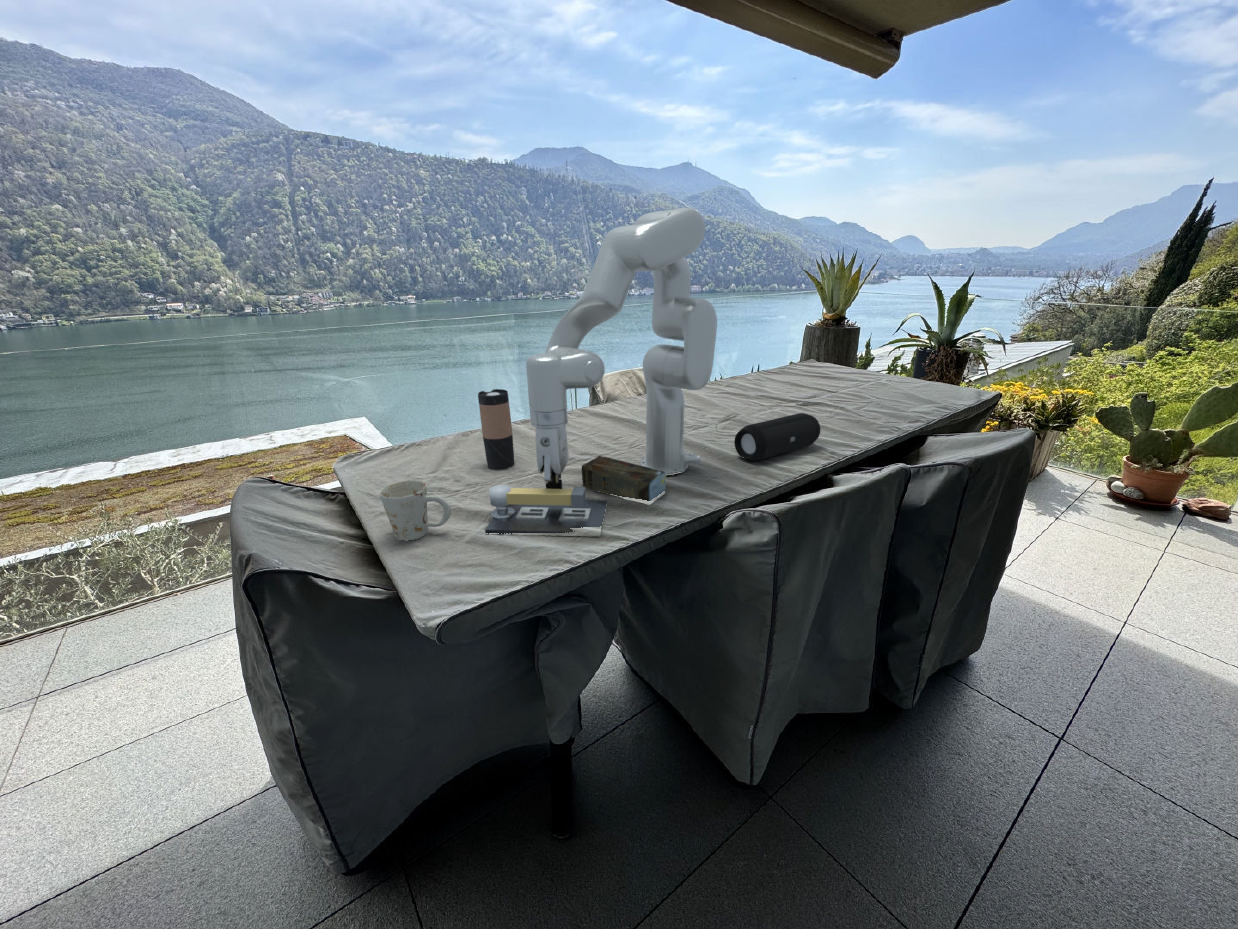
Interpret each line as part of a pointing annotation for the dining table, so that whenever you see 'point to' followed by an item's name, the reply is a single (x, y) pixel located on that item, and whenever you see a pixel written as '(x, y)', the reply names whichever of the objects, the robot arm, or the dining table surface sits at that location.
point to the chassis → (545, 518)
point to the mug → (410, 508)
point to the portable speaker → (777, 436)
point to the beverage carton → (623, 478)
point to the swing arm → (537, 496)
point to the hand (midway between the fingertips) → (554, 497)
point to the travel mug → (496, 428)
